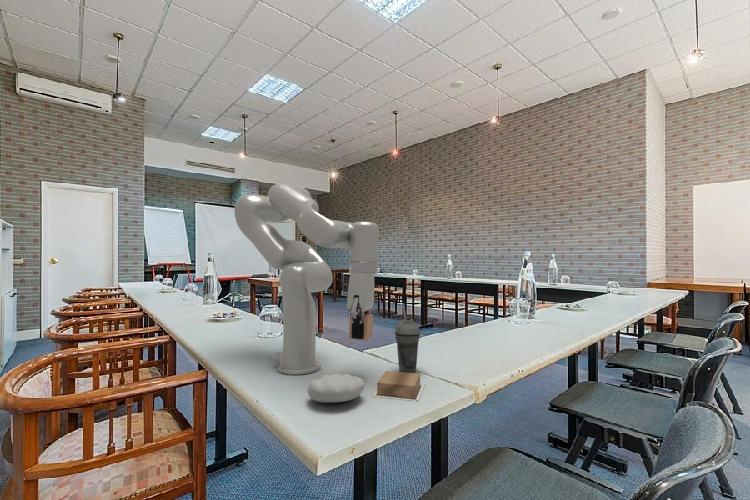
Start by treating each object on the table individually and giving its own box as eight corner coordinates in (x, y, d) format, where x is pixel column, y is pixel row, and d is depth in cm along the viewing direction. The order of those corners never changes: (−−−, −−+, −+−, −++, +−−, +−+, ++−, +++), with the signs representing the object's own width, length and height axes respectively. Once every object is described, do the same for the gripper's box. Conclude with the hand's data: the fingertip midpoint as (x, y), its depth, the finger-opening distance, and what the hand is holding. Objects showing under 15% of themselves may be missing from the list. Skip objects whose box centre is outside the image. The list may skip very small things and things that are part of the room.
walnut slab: (377, 395, 85) (377, 382, 85) (386, 382, 93) (386, 370, 93) (414, 399, 82) (414, 386, 82) (420, 385, 91) (420, 373, 91)
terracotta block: (348, 338, 93) (349, 315, 93) (355, 334, 98) (355, 312, 98) (367, 340, 92) (367, 317, 92) (372, 336, 97) (373, 314, 97)
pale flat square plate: (372, 398, 84) (372, 396, 84) (383, 382, 95) (383, 380, 95) (418, 403, 81) (418, 401, 81) (424, 386, 92) (424, 384, 92)
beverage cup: (419, 378, 97) (419, 305, 98) (393, 377, 99) (393, 304, 99) (421, 370, 104) (421, 302, 105) (396, 368, 106) (396, 301, 106)
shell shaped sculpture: (357, 417, 74) (357, 386, 74) (300, 413, 76) (300, 382, 76) (368, 393, 87) (368, 367, 87) (319, 390, 89) (319, 364, 89)
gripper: (359, 266, 104) (357, 328, 104) (338, 269, 88) (335, 342, 88) (384, 267, 102) (382, 330, 102) (367, 270, 86) (364, 345, 86)
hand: (360, 335), depth 95 cm, fingers closed on terracotta block, 5 cm apart
